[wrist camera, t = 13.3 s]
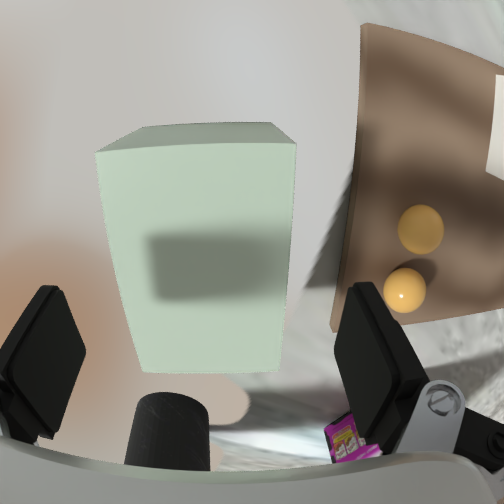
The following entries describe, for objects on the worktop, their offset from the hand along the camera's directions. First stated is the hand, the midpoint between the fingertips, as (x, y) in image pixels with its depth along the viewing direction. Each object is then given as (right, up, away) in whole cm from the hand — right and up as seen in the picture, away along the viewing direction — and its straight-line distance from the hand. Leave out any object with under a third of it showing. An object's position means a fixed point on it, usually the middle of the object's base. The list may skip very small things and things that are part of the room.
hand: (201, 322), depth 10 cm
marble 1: (+12, +4, +8) cm, 14 cm away
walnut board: (+18, +6, +10) cm, 22 cm away
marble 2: (+12, 0, +10) cm, 15 cm away
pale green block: (-1, +4, +9) cm, 10 cm away
